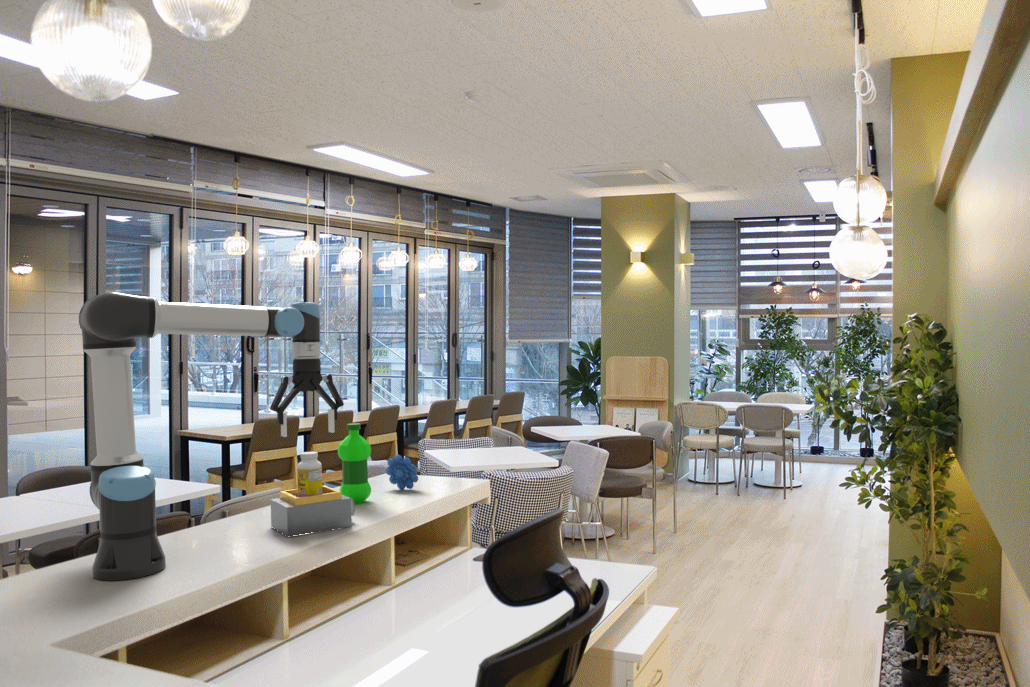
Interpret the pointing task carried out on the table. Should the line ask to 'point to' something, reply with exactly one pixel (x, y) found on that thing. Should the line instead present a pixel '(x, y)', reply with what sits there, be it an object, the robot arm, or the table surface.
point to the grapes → (402, 472)
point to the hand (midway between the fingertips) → (308, 434)
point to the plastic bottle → (355, 465)
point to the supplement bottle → (309, 475)
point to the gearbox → (311, 511)
